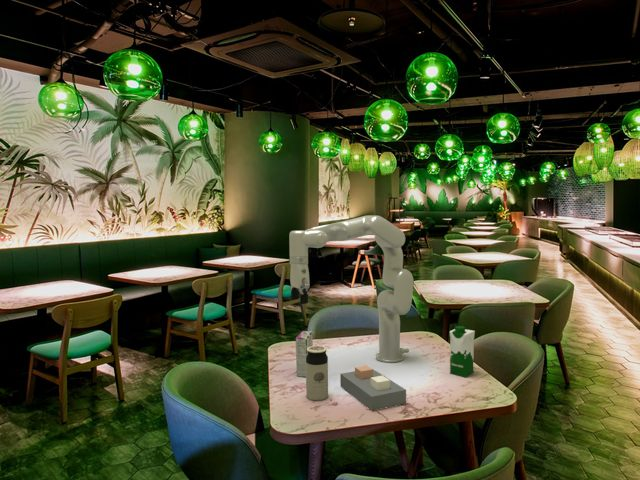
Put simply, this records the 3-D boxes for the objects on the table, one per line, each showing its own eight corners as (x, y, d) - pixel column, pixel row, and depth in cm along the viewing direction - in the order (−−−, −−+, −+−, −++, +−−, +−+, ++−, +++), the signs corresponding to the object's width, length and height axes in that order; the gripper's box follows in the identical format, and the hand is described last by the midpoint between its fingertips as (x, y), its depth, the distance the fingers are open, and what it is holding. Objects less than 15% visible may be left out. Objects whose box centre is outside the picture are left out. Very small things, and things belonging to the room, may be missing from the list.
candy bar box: (302, 367, 197) (301, 330, 196) (313, 368, 196) (313, 331, 195) (295, 376, 186) (295, 337, 185) (307, 377, 185) (307, 338, 184)
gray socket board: (371, 380, 181) (371, 368, 181) (406, 403, 159) (406, 389, 159) (340, 386, 176) (340, 373, 175) (371, 411, 154) (371, 396, 153)
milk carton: (447, 373, 188) (447, 326, 187) (457, 368, 194) (457, 322, 193) (467, 378, 182) (467, 330, 181) (476, 372, 188) (477, 325, 187)
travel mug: (307, 392, 170) (306, 345, 169) (328, 392, 170) (327, 345, 169) (305, 400, 162) (305, 351, 161) (327, 401, 162) (327, 351, 161)
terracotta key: (366, 377, 176) (366, 365, 176) (372, 382, 171) (372, 369, 171) (354, 379, 174) (354, 367, 174) (361, 384, 169) (361, 371, 169)
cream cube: (382, 388, 165) (382, 375, 165) (389, 393, 160) (389, 380, 160) (370, 391, 163) (370, 377, 163) (377, 396, 158) (377, 382, 158)
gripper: (316, 262, 180) (316, 304, 181) (299, 258, 195) (299, 297, 196) (298, 263, 176) (299, 306, 178) (282, 259, 192) (283, 298, 193)
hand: (299, 301), depth 187 cm, fingers open, 9 cm apart
